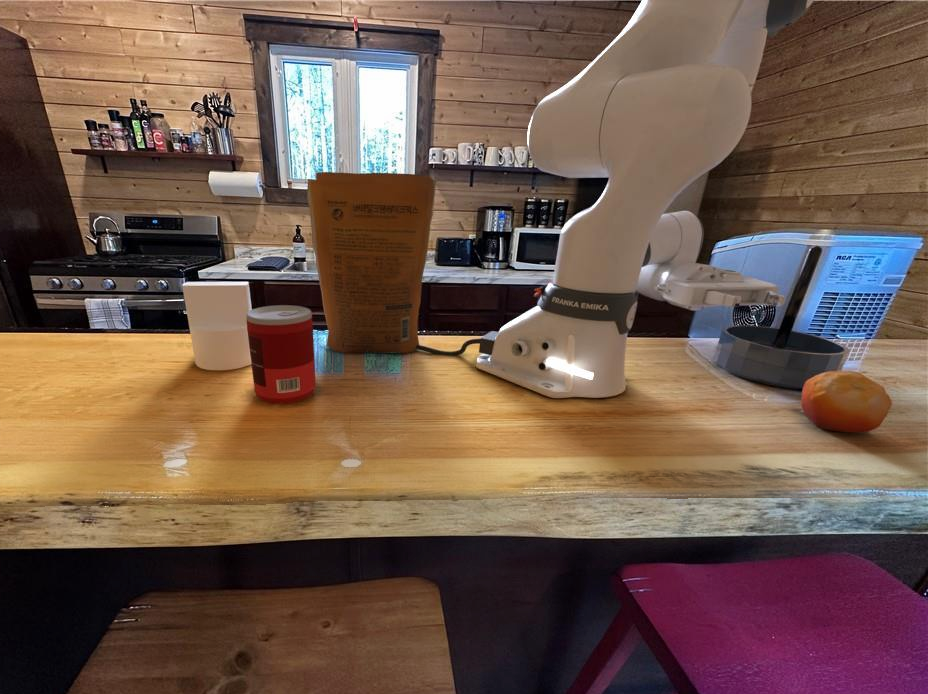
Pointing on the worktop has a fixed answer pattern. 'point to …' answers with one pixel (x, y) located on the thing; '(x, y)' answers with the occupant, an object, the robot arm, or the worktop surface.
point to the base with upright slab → (218, 323)
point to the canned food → (282, 353)
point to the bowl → (777, 355)
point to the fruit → (844, 402)
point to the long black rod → (797, 296)
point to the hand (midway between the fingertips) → (759, 301)
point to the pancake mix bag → (371, 256)
